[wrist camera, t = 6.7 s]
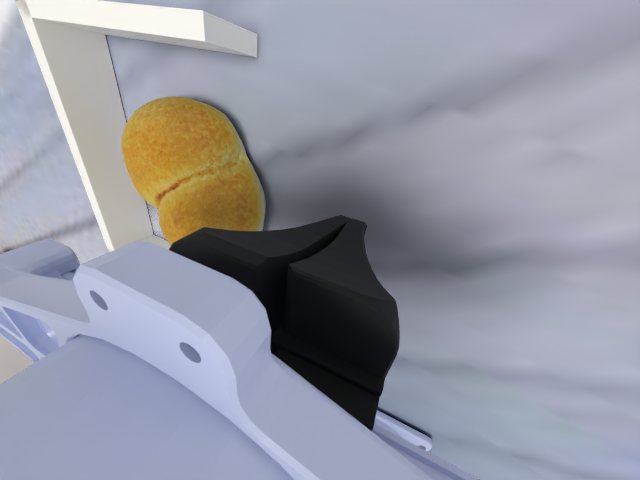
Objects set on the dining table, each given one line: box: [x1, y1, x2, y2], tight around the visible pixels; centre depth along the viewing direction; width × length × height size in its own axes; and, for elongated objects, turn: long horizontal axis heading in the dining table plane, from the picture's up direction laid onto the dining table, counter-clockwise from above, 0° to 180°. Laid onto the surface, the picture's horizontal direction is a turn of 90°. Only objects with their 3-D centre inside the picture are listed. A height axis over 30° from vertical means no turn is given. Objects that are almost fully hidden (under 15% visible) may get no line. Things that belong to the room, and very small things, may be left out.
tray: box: [15, 0, 258, 252], centre depth 14 cm, size 15×11×3 cm
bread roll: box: [122, 97, 265, 245], centre depth 14 cm, size 8×9×4 cm
